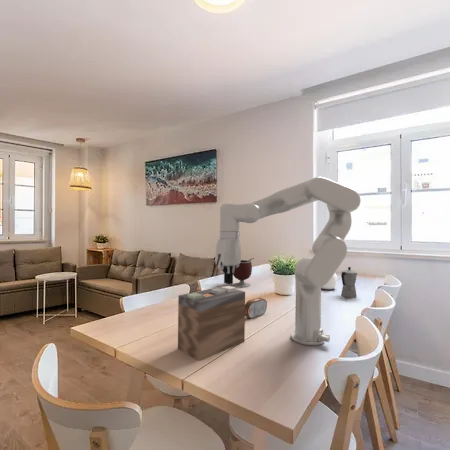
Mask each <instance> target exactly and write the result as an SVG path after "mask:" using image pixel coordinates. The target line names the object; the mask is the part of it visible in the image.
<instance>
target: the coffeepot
mask: <svg viewBox="0 0 450 450" xmlns="http://www.w3.org/2000/svg"><path fill="white" fill-rule="evenodd" d="M340 274H341V275H340V276H341V277H340V278H341V282H342V289H341V293H340V294H341V297H344V298H348V299H350V298H351V299H352V298H353V299H354V298H357V289H356V282H357V281H356V280H357V276H358V271H355V270H351V266H348V267H347V269H346V270H345V269H344V270H341V273H340Z"/></svg>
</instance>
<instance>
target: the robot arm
mask: <svg viewBox="0 0 450 450" xmlns="http://www.w3.org/2000/svg"><path fill="white" fill-rule="evenodd" d="M317 201H320V202H322V203H324V204H326V207H327V209H328V213H329V217H328V221H327V223H326V225H324V228H323V229H322V230H321V232H320V233H319V234H318V236H317V238H316V239H315V240H314V241H313V244H312V246H311V247H312V248H311V250H312V253H313V255H314V256H313V257H303V258H301V259H299V260H298V261H297V262H296V264H295V267H294V282H295V317H294V320H295V321H294V325H295V328H294V329H295V330H294V331H292V332H291V333H290V338H291V340H292V341H293V342H295V343H297V344H301V345H305V346H320V345H322V344H324V343H329V342H330V341H331V338H330V337H331V336H330V334H327V333H324V329H323V328H321V327H322V325H321V324H322V323H321V322H322V321H321V320H322V316H321V315H322V288H321V287H323V286H324V285H326V284H327V283H328V282H329V281H330V279H331V278H332V277H333V275H334V274H335V273H336V272H337V271H338V269H339V268H340V266H341V265H342V263H343V262H344V260H345V259H346V257H347V252H348V247H347V246H348V245H347V244H346V242H345V241H344V240H345V239H346V237H347V235H348V234H349V232H350V231H351V227H352V215H351V214H352V213H351V212H354V211H356V210H358V209H359V207H360V204H361V197H360V195H359V193H358V191H356V190H355V189H353V188H351V187H348V186H346V185H343V184H341V183H339V182H336V181H334V180H332V179H330V178H326V177H323V176H315V177H313V178H311V179H309V180H305V181H303V182H300V183H297V184H295V185H292V186H289V187H286V188H284V189H279V190H278V191H276V192H274V193H273V194H271V195H268V196H266V197H264V198H261V199H257V200H256V201H253V202H250V203H241V204H239V203H222V204H221V205H220V208H219V239H217V243H216V247H215V258H214V259H215V260H214V261H215V265H217V270H221V271H222V273H223V283H224V284H227V285H233V284H234V275H233V273H234V271H235V269H236V268H237V267H239V264H240V262H241V260H242V247H241V240H240V223H246V224H255V223H257V222H258V220H261V219H264V218H267V217H269V216H273V215H278V214H283V213H286V212H289V211H292V210H295V209H298V208H300V207H303V206H305V205H306V206H307V205H309V204H312V203H314V202H317Z"/></svg>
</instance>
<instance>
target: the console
mask: <svg viewBox="0 0 450 450" xmlns="http://www.w3.org/2000/svg"><path fill="white" fill-rule="evenodd" d="M222 287H225V286H218V287H213V288H209V289H208V288H207V289H202V290H199V291H195V292H193V291H192V292H189V293H185V294H179V295H178V298H177V299H178V300H177V302H178V304H177V307H178V308H177V312H178V313H177V316H178V317H177V321H178V322H177V350H179V351H181V352H183V353H185V354H186V355H188V356H190V357H192V358H194V359H196V360H197V361H200V362H201V360H205V359H206V358H209V357H212V356H213V355H217V354H218V353H221V352H223V351H225V350H229V349H231V348H233V347H235V346H238V345H240V344H242V343H245V339H246V338H245V335H246V333H245V331H246V329H245V327H246V326H245V325H246V322H245V321H246V320H245V319H246V317H245V304H246V291H244V290H239V289H236V290H235V291H231V292H227V291H226V293H222V294H215V293H211V289H216V288H221V289H222ZM192 293H199V294H202V295H203V294H207V293H208V294H212V295H213V296H209V297H205V296H203V298H200V299H196V300H193V299H190V298H187V294H192Z"/></svg>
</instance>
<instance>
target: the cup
mask: <svg viewBox="0 0 450 450" xmlns="http://www.w3.org/2000/svg"><path fill="white" fill-rule="evenodd" d="M337 281H338V276H337V274H336V272H335V274H334V275H333V277H332V278H331V279H330V281H329V282H328V283H327V284H326V285H324V286H323V287H321V290H322V289H323V290H333V289H335V288H336V286H337Z"/></svg>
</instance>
